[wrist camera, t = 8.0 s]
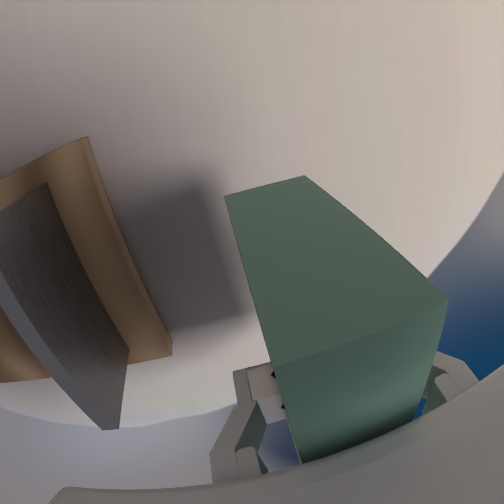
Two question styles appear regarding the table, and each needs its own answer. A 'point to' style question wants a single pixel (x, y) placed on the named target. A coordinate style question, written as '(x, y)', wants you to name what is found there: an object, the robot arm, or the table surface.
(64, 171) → the shelf board
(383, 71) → the table surface
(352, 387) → the book
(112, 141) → the table surface
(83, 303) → the bookends
